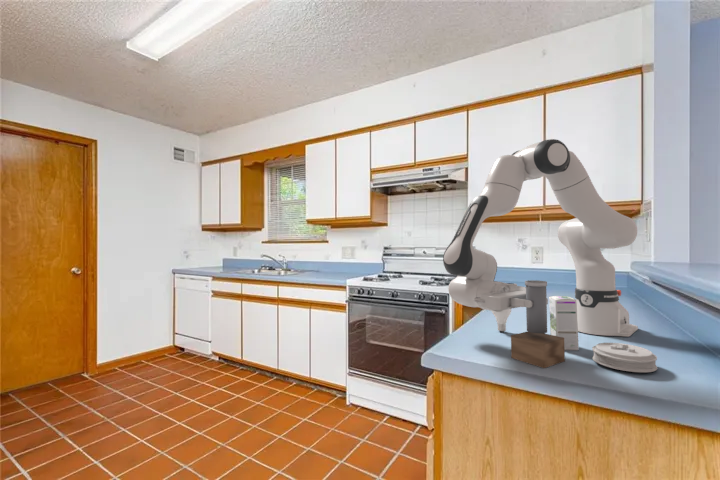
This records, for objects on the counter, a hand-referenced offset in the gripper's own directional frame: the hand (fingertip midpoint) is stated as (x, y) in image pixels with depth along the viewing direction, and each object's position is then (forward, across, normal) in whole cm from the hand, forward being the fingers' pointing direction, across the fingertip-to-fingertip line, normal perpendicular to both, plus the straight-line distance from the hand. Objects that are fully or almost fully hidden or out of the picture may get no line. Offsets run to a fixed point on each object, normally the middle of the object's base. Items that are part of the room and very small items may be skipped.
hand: (539, 302), depth 89 cm
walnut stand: (-1, 0, +15) cm, 15 cm away
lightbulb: (-24, +16, +15) cm, 32 cm away
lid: (+13, +13, +15) cm, 24 cm away
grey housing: (-1, 0, +8) cm, 8 cm away
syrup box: (-3, +16, +15) cm, 22 cm away
